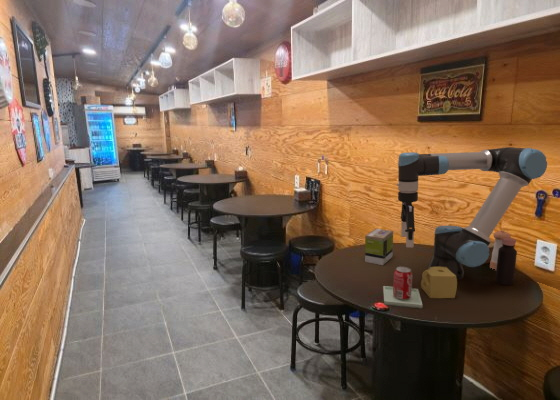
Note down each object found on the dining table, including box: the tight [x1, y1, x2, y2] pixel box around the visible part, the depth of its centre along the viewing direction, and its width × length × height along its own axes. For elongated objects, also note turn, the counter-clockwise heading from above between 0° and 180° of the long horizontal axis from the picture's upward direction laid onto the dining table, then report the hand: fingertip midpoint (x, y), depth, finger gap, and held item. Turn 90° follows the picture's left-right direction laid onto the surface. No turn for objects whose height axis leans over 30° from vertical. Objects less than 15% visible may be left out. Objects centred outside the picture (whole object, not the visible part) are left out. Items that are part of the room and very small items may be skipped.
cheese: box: [420, 267, 458, 299], centre depth 146 cm, size 10×11×10 cm
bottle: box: [494, 237, 518, 286], centre depth 154 cm, size 7×7×20 cm
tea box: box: [364, 228, 394, 266], centre depth 185 cm, size 15×10×15 cm
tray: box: [382, 285, 423, 309], centre depth 143 cm, size 14×14×2 cm
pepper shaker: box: [489, 230, 512, 271], centre depth 170 cm, size 7×7×19 cm
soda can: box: [392, 265, 413, 300], centre depth 142 cm, size 7×7×12 cm
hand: (407, 241), depth 147 cm, fingers open, 13 cm apart
